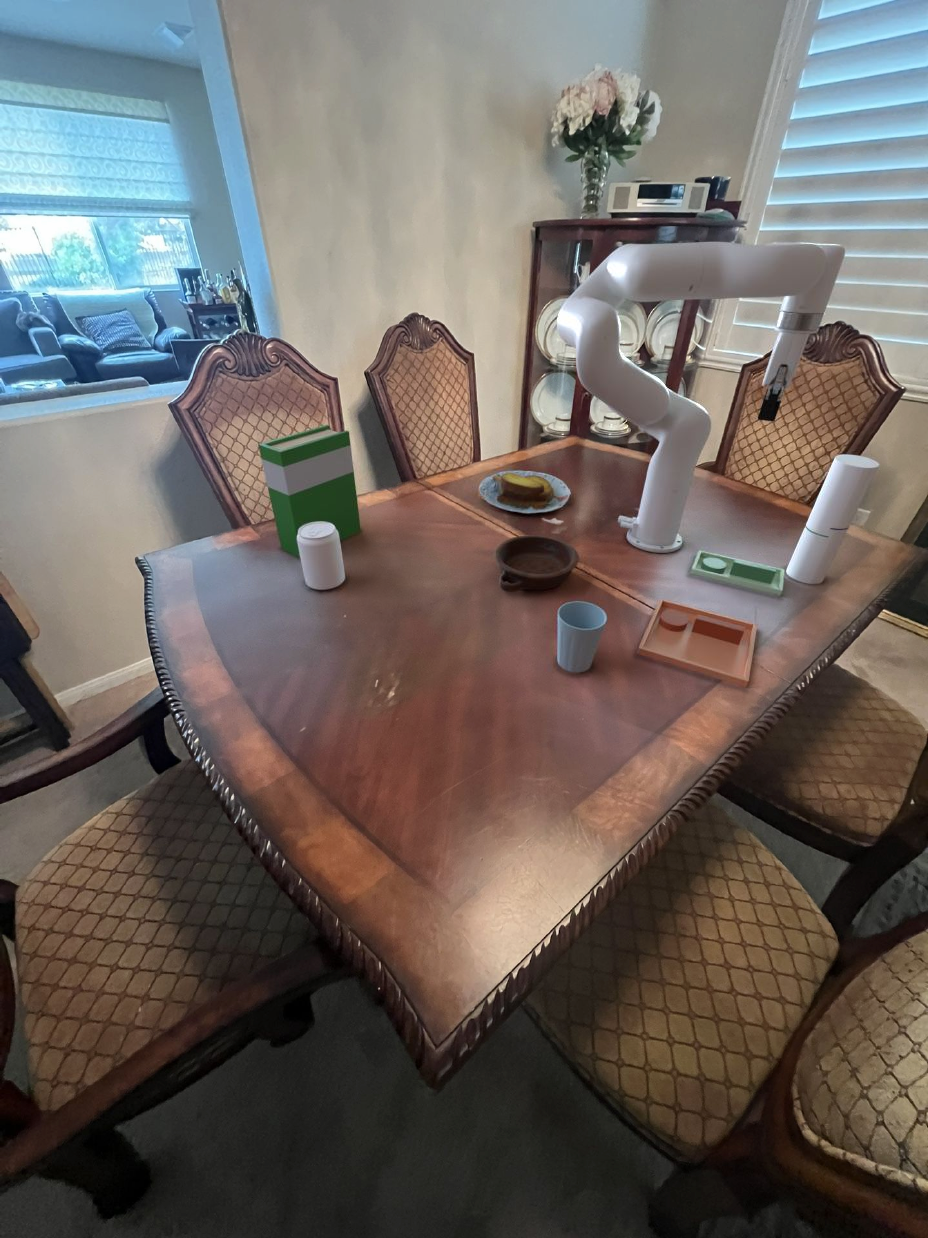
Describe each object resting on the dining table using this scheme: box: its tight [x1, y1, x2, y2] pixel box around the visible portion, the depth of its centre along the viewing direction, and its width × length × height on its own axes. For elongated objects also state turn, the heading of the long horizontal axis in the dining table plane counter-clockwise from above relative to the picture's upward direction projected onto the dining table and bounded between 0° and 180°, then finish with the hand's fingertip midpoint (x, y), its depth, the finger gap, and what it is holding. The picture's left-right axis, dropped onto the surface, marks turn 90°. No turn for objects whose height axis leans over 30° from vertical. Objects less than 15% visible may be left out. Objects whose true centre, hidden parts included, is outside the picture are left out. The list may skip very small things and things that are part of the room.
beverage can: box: [297, 521, 346, 591], centre depth 106 cm, size 8×8×12 cm
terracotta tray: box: [636, 597, 758, 688], centre depth 94 cm, size 17×17×2 cm
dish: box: [494, 534, 580, 592], centre depth 111 cm, size 18×22×5 cm
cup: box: [556, 600, 608, 674], centre depth 86 cm, size 8×8×10 cm
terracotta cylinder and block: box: [659, 610, 745, 645], centre depth 95 cm, size 14×5×3 cm, turn 61°
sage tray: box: [689, 549, 786, 597], centre depth 112 cm, size 17×9×2 cm, turn 62°
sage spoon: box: [701, 558, 778, 584], centre depth 111 cm, size 14×5×3 cm, turn 62°
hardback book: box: [257, 424, 362, 560], centre depth 118 cm, size 18×7×24 cm, turn 141°
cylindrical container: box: [785, 453, 880, 585], centre depth 106 cm, size 7×7×25 cm
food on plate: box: [477, 469, 572, 514], centre depth 143 cm, size 25×25×7 cm
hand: (767, 414), depth 112 cm, fingers open, 9 cm apart
